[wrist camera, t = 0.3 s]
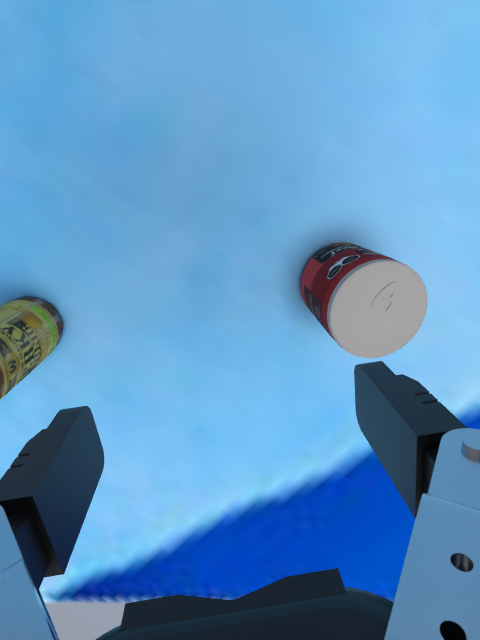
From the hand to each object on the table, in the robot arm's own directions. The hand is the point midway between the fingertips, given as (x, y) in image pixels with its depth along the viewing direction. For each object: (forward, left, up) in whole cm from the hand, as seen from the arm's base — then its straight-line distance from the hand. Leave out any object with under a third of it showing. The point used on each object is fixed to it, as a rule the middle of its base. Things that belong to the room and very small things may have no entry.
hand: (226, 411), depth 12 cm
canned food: (+4, +12, -28) cm, 31 cm away
